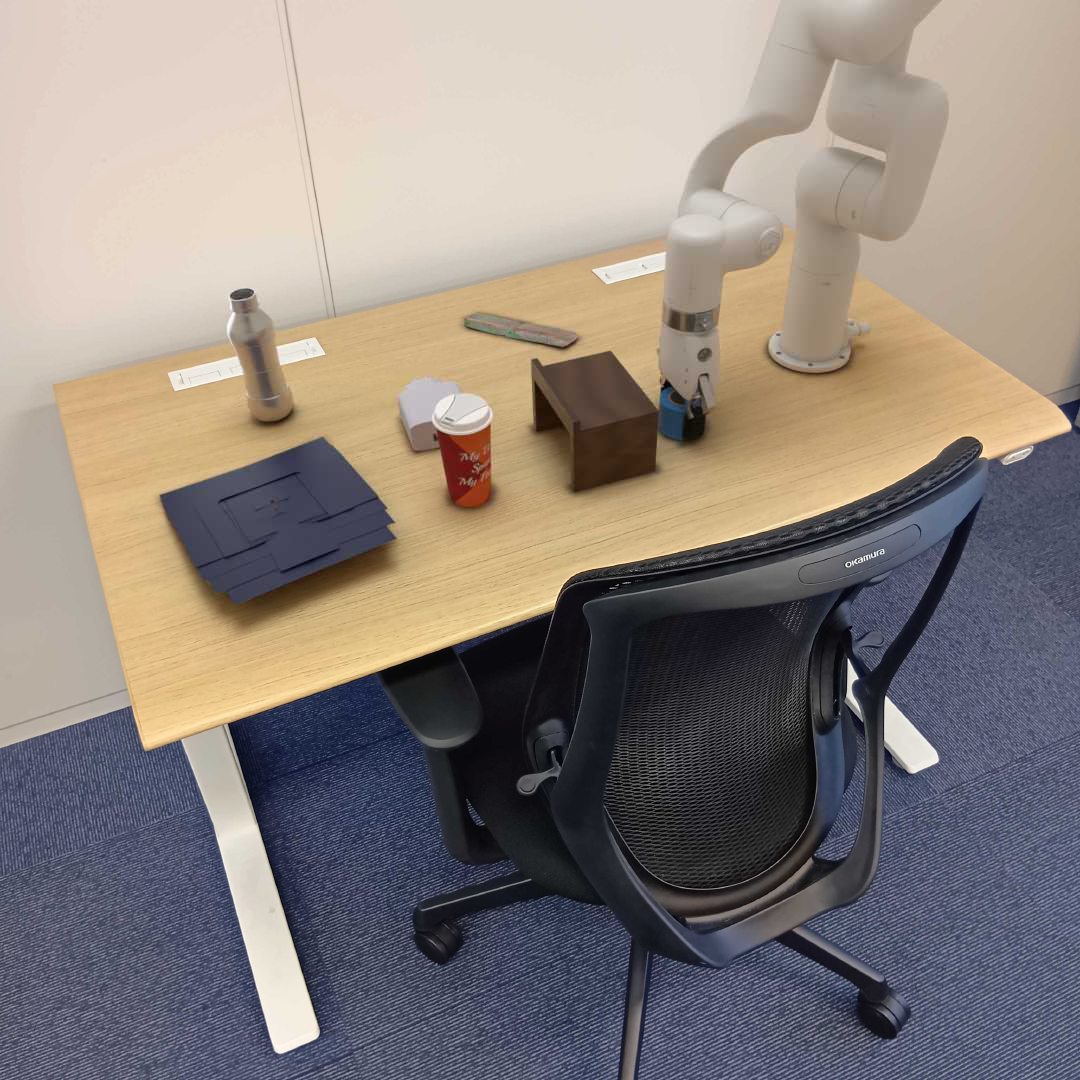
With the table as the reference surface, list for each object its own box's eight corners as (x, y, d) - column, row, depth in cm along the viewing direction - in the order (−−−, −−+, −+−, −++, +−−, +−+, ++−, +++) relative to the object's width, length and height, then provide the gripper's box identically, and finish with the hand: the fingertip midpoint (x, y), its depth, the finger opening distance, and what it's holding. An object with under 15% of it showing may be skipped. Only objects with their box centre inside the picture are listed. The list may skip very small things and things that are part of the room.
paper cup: (477, 519, 128) (469, 433, 119) (430, 500, 131) (418, 414, 122) (510, 486, 133) (504, 400, 124) (464, 469, 136) (455, 384, 127)
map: (472, 314, 168) (471, 309, 168) (581, 333, 161) (581, 328, 160) (457, 328, 165) (457, 323, 164) (568, 348, 157) (568, 343, 157)
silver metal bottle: (305, 412, 147) (276, 292, 134) (267, 433, 144) (234, 311, 130) (279, 396, 151) (249, 277, 137) (242, 416, 147) (207, 296, 134)
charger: (450, 384, 152) (476, 439, 141) (392, 396, 150) (413, 453, 139) (447, 358, 149) (473, 412, 138) (387, 370, 147) (409, 425, 136)
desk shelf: (609, 408, 146) (610, 341, 138) (655, 471, 135) (659, 401, 127) (533, 427, 143) (530, 359, 135) (574, 492, 132) (573, 422, 124)
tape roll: (691, 409, 145) (693, 380, 142) (711, 434, 140) (715, 404, 137) (650, 419, 143) (651, 390, 140) (669, 444, 139) (672, 415, 135)
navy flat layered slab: (225, 629, 113) (216, 606, 111) (163, 512, 135) (155, 490, 133) (414, 550, 122) (409, 527, 120) (328, 452, 144) (323, 430, 142)
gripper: (748, 337, 124) (733, 450, 136) (686, 277, 136) (678, 386, 148) (694, 349, 122) (684, 463, 134) (637, 287, 135) (632, 396, 147)
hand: (681, 421), depth 141 cm, fingers closed on tape roll, 6 cm apart
